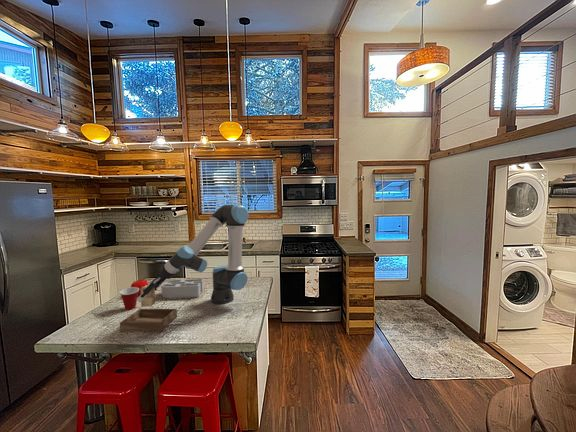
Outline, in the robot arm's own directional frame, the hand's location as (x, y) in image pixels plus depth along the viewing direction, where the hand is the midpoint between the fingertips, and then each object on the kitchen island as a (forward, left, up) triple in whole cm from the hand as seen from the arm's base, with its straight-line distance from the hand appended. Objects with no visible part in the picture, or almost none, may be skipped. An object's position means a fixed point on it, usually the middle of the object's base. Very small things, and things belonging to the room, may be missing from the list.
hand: (141, 298), depth 149 cm
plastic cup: (-21, -21, -15) cm, 33 cm away
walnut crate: (0, +4, -15) cm, 15 cm away
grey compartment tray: (-47, +1, -15) cm, 49 cm away
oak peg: (0, +4, -3) cm, 5 cm away
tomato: (-46, -30, -15) cm, 57 cm away
